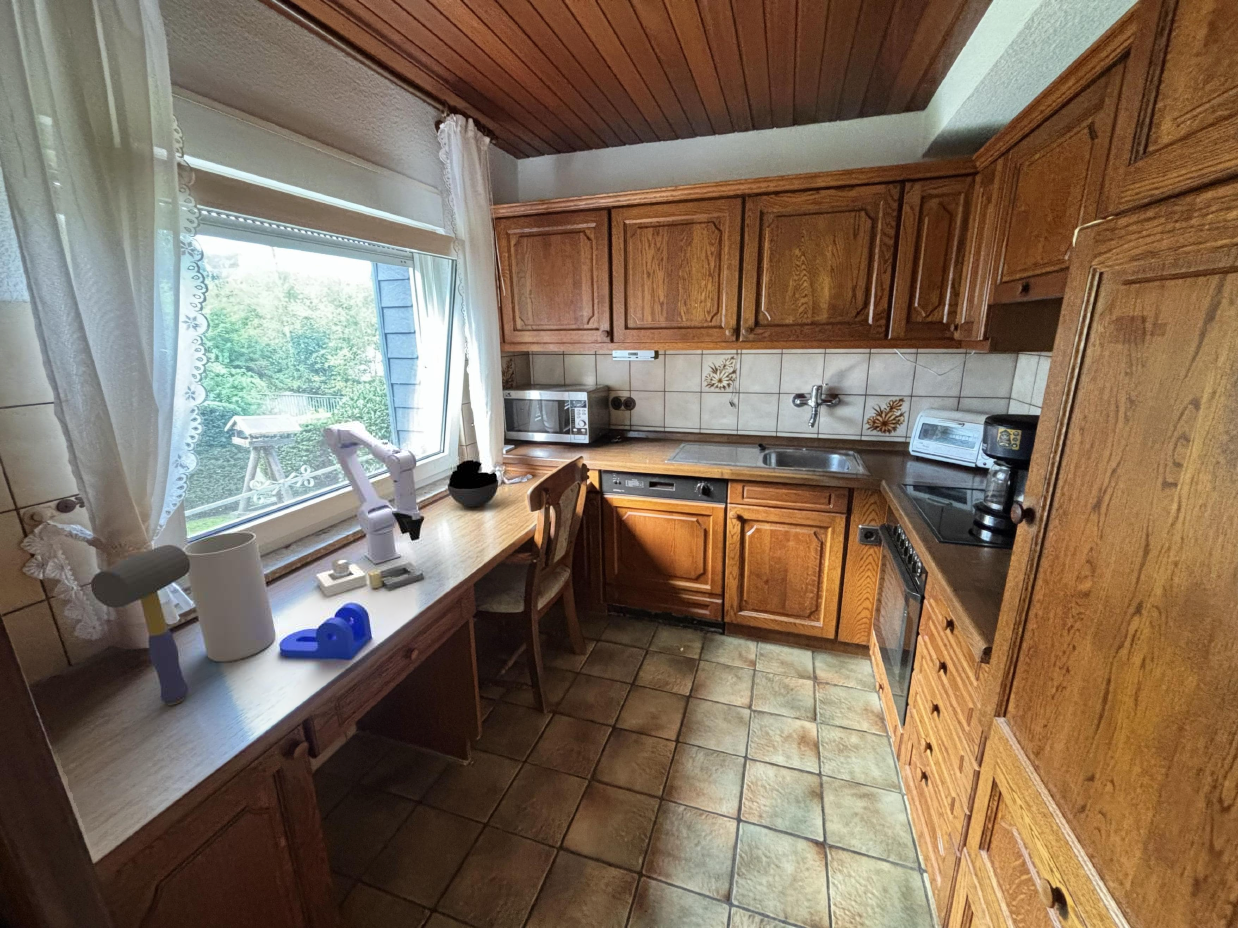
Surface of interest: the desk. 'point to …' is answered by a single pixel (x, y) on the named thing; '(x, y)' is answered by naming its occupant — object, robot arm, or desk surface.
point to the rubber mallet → (149, 606)
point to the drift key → (375, 579)
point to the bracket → (331, 636)
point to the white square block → (341, 581)
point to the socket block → (407, 568)
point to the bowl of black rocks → (472, 484)
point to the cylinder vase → (230, 595)
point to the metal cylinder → (340, 568)
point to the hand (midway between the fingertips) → (410, 536)
